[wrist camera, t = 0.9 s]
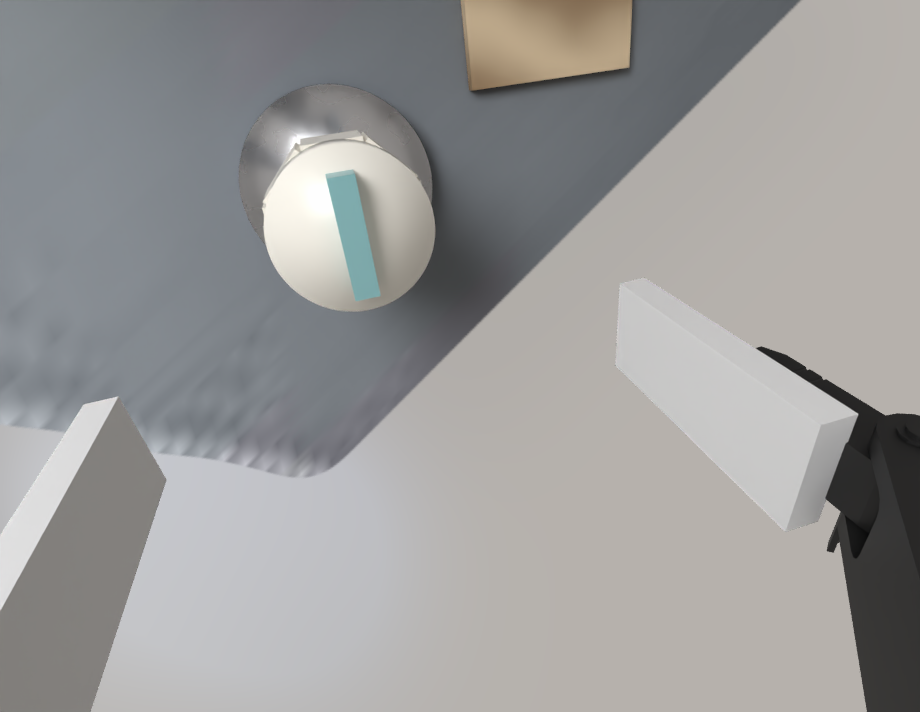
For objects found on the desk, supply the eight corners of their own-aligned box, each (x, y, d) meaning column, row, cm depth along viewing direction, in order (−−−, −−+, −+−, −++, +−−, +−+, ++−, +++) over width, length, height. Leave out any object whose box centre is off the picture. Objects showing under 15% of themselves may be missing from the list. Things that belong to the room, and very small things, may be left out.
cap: (250, 145, 25) (235, 163, 20) (403, 121, 27) (427, 133, 21) (293, 290, 29) (291, 337, 24) (425, 263, 31) (450, 302, 25)
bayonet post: (212, 98, 30) (175, 108, 21) (412, 71, 32) (451, 70, 23) (274, 288, 36) (264, 353, 27) (438, 255, 38) (476, 307, 29)
